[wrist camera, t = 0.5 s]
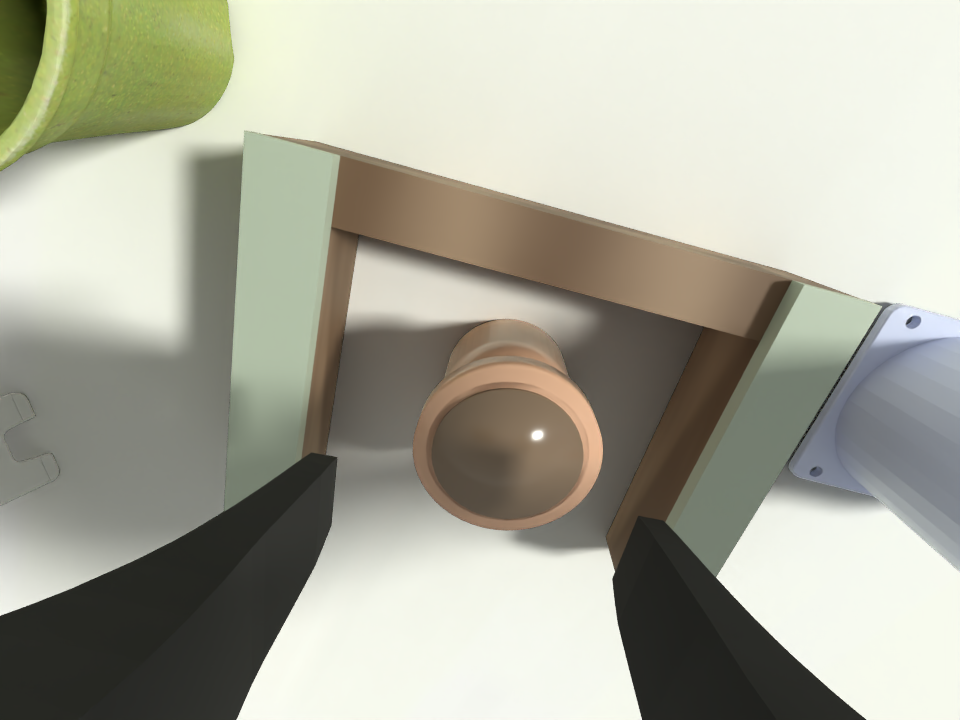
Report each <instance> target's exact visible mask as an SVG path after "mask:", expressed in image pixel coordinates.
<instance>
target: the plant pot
mask: <svg viewBox="0 0 960 720" xmlns="http://www.w3.org/2000/svg"><path fill="white" fill-rule="evenodd" d="M233 62H234V55H233V49H232V41H231V33H230V23H229V12H228V3H227V0H0V171H2V170H3V169H5V168H6V167H8V166H9V165H11V164H13V163H14V162H16V161H17V160H18V159H19V158H20V157H22V156H23V155H24V154H27V153H30V152H32V151H34V150H37V149H39V148H41V147H43V146H45V145H47V144H49V143H51V142H59V141H67V140H74V139H82V138H89V137H97V136H105V135H112V134H120V133H131V132H141V131H151V130H160V129H167V128H174V127H180V126H184V125H187V124H190V123H193V122H195V121H196V120H198V119H200V118H202V117H203V116H204V115H206V114H207V113H208V112H209V111H210V110H211V109H212V108H213V107H214V106H215V105H216V104H217V102H218V101H219V100H220V98H221V96H222V95H223V93H224V91H225V89H226V87H227V85H228V82H229V80H230V77H231V73H232V68H233Z"/></svg>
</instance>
